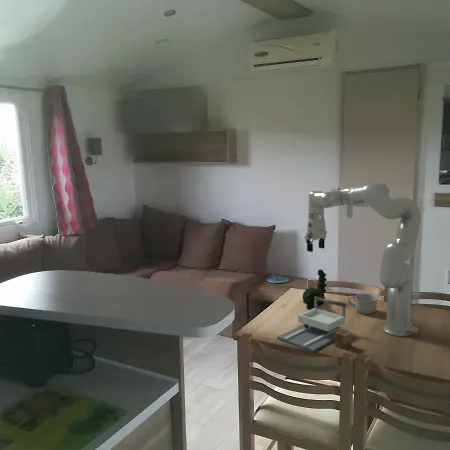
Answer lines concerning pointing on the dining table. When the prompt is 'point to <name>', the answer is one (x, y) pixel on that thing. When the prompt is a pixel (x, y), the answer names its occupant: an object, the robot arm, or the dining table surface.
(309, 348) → the track
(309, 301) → the toy figurine
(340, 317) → the shallow sage tray
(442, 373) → the dining table surface
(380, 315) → the dining table surface
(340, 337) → the walnut block
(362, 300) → the teacup
